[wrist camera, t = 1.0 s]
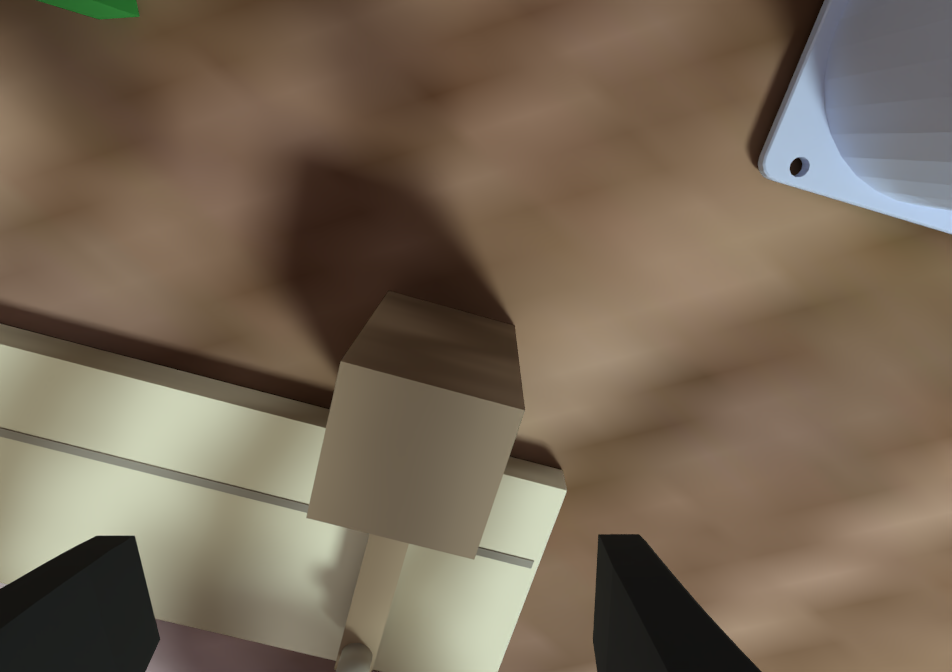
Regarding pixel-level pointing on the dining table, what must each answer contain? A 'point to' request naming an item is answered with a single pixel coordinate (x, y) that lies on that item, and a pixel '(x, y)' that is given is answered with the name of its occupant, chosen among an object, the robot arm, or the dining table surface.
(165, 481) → the board
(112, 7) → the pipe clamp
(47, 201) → the dining table surface
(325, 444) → the brown block with handle
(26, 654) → the robot arm
